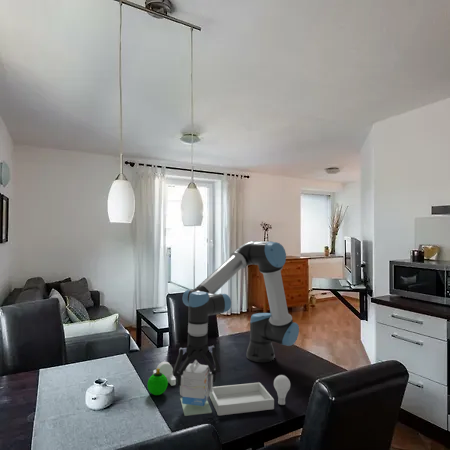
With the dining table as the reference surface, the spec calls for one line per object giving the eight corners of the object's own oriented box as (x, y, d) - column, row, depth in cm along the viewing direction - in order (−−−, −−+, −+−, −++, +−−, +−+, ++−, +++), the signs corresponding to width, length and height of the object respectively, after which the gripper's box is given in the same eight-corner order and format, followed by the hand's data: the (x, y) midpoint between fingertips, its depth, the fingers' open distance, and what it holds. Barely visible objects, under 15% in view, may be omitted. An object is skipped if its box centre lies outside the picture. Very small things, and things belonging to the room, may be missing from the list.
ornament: (148, 389, 135) (149, 365, 135) (168, 389, 135) (169, 365, 136) (145, 399, 127) (146, 373, 127) (166, 399, 127) (167, 373, 128)
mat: (205, 396, 130) (205, 395, 130) (212, 412, 118) (212, 411, 119) (180, 399, 127) (180, 398, 127) (184, 415, 116) (184, 414, 116)
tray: (259, 390, 136) (259, 382, 137) (273, 408, 122) (274, 399, 122) (209, 396, 131) (209, 387, 131) (218, 415, 117) (218, 405, 117)
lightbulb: (271, 400, 128) (272, 372, 129) (287, 400, 129) (287, 372, 129) (275, 409, 122) (276, 379, 123) (292, 408, 123) (292, 379, 123)
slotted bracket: (152, 376, 148) (153, 358, 149) (167, 373, 152) (168, 356, 152) (160, 388, 137) (161, 369, 137) (176, 385, 140) (176, 366, 140)
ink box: (203, 406, 118) (204, 369, 118) (181, 403, 120) (182, 366, 120) (209, 395, 127) (210, 360, 127) (188, 392, 128) (189, 358, 129)
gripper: (224, 329, 131) (223, 384, 130) (166, 332, 125) (164, 390, 124) (229, 334, 123) (228, 393, 123) (167, 338, 117) (166, 400, 117)
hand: (196, 392), depth 123 cm, fingers closed on ink box, 11 cm apart
